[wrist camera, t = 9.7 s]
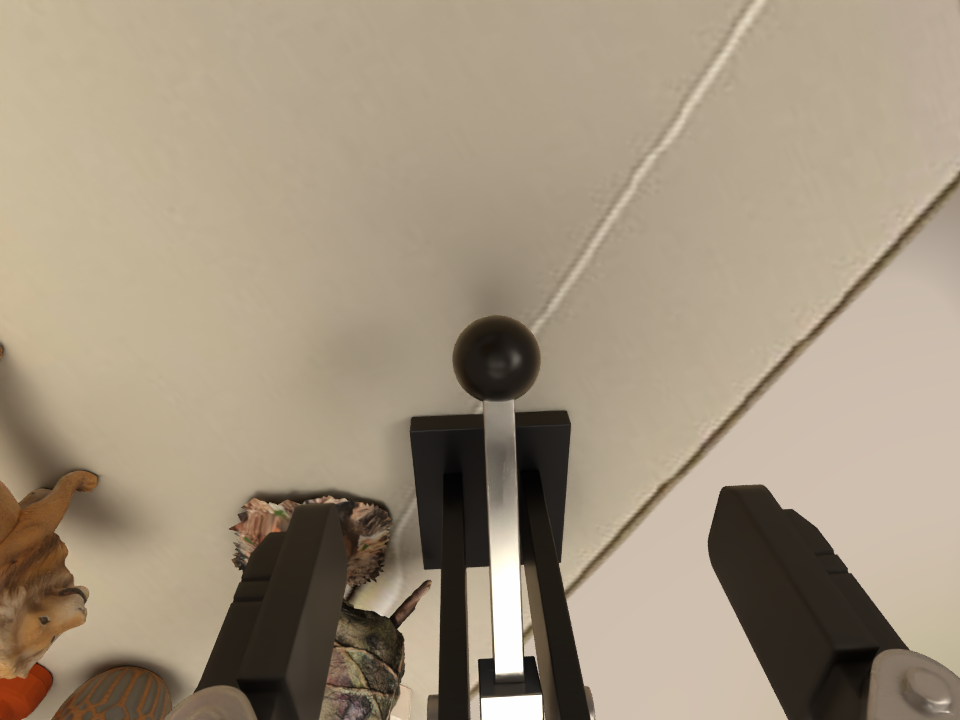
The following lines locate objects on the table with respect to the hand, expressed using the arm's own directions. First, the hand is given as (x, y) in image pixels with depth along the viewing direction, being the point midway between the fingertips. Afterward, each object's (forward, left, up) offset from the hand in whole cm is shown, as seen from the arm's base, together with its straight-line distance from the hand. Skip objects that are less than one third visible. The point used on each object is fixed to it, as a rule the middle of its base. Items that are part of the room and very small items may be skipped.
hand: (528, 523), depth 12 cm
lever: (+5, +5, -7) cm, 11 cm away
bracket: (+9, +9, -15) cm, 19 cm away
